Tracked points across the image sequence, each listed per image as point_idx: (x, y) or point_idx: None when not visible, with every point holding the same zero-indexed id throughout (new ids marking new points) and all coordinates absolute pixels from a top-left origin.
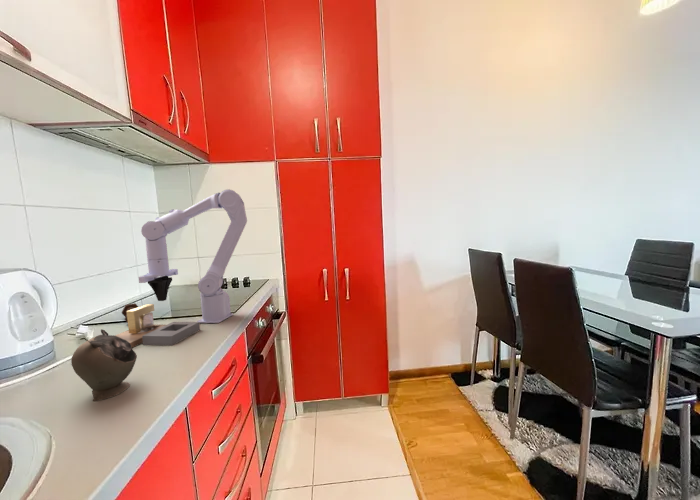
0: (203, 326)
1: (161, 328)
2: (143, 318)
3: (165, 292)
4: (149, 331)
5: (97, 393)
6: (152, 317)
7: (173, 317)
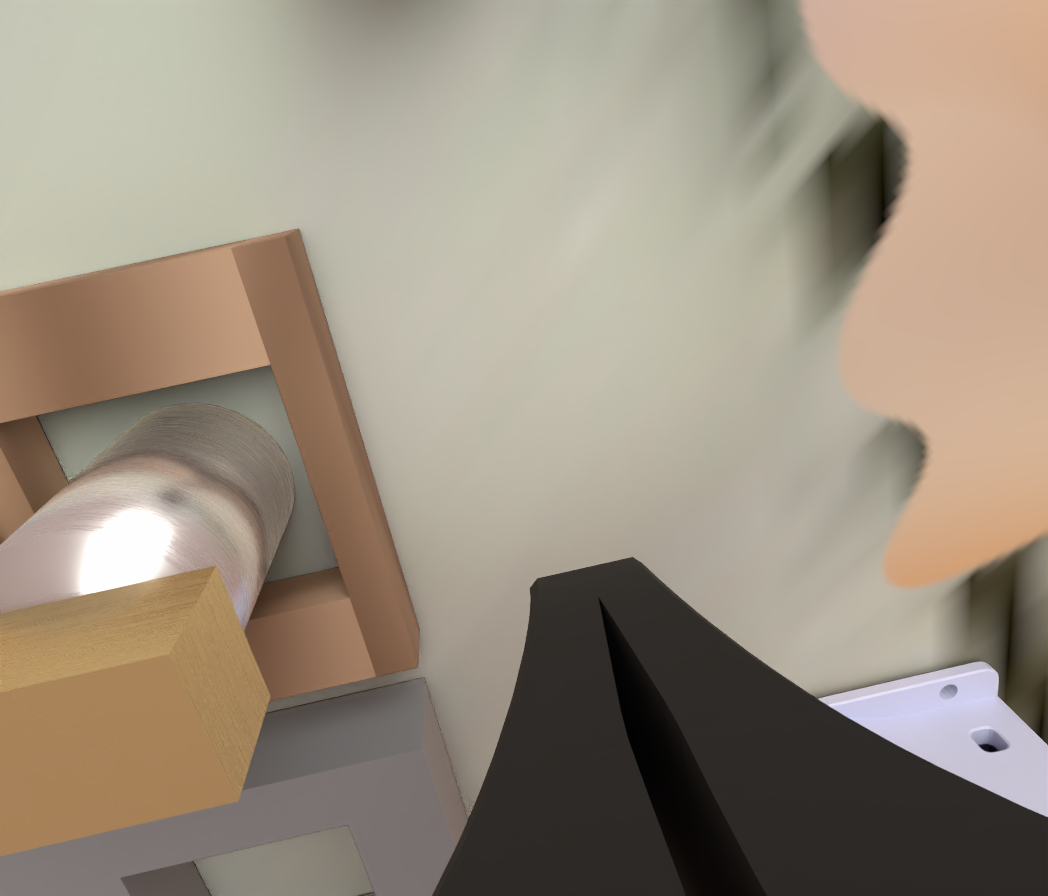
0: None
1: (178, 839)
2: None
3: (685, 893)
4: None
5: None
6: None
7: (875, 181)
